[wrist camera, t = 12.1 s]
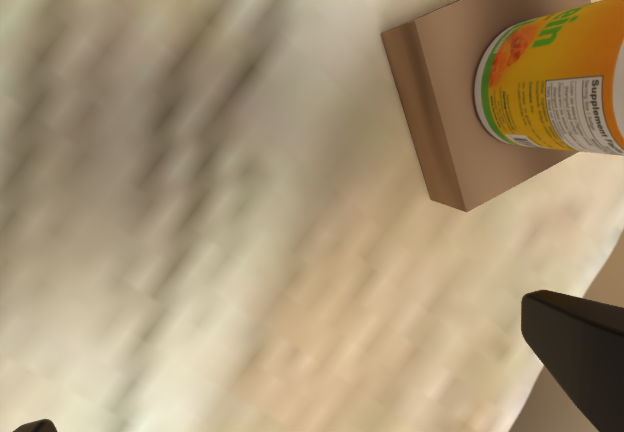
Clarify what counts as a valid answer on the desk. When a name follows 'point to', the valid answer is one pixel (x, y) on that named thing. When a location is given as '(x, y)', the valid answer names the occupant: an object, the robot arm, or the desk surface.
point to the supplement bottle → (557, 81)
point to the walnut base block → (462, 99)
